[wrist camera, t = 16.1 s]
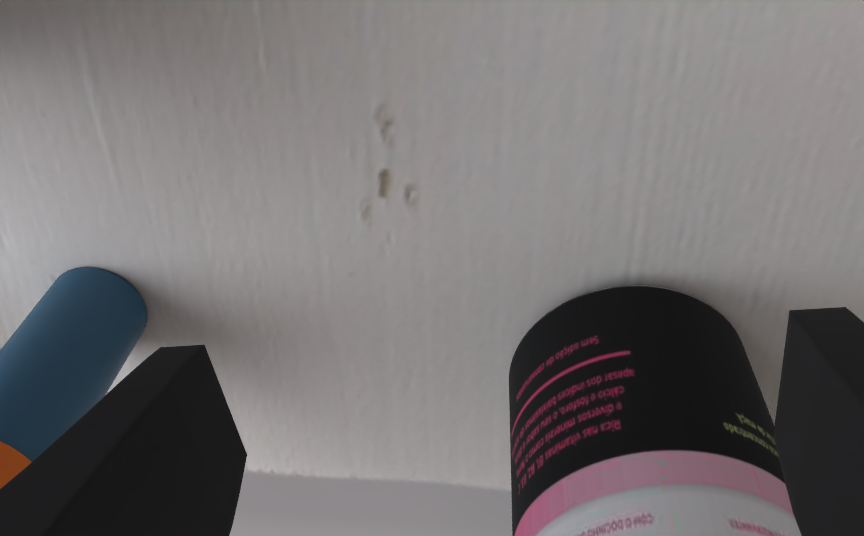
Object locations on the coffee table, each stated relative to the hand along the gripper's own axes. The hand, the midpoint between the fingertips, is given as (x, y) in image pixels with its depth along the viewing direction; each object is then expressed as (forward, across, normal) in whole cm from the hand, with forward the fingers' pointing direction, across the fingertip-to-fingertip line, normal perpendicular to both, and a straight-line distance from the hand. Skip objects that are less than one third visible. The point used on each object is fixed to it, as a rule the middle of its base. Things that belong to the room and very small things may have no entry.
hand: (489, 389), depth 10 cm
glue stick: (+10, +12, +6) cm, 17 cm away
